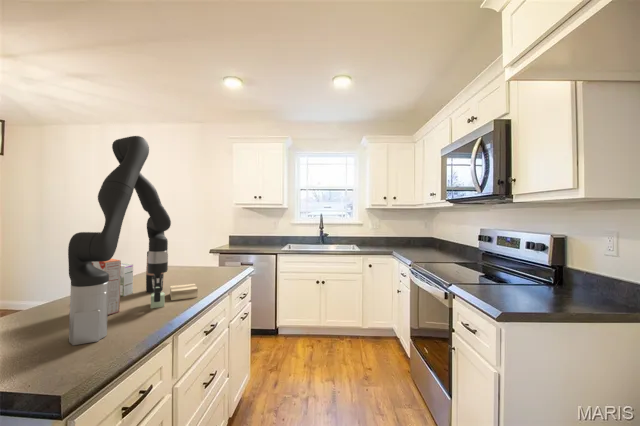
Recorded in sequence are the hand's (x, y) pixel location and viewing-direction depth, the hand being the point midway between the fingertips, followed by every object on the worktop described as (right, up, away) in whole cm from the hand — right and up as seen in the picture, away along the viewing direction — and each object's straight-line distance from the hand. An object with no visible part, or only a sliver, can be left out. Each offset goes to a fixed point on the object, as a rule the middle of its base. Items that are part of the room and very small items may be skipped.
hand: (156, 298), depth 118 cm
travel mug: (-14, -3, +21) cm, 26 cm away
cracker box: (-17, -3, -9) cm, 19 cm away
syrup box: (-24, -2, +14) cm, 28 cm away
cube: (+1, -3, 0) cm, 3 cm away
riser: (+4, -3, +15) cm, 16 cm away
